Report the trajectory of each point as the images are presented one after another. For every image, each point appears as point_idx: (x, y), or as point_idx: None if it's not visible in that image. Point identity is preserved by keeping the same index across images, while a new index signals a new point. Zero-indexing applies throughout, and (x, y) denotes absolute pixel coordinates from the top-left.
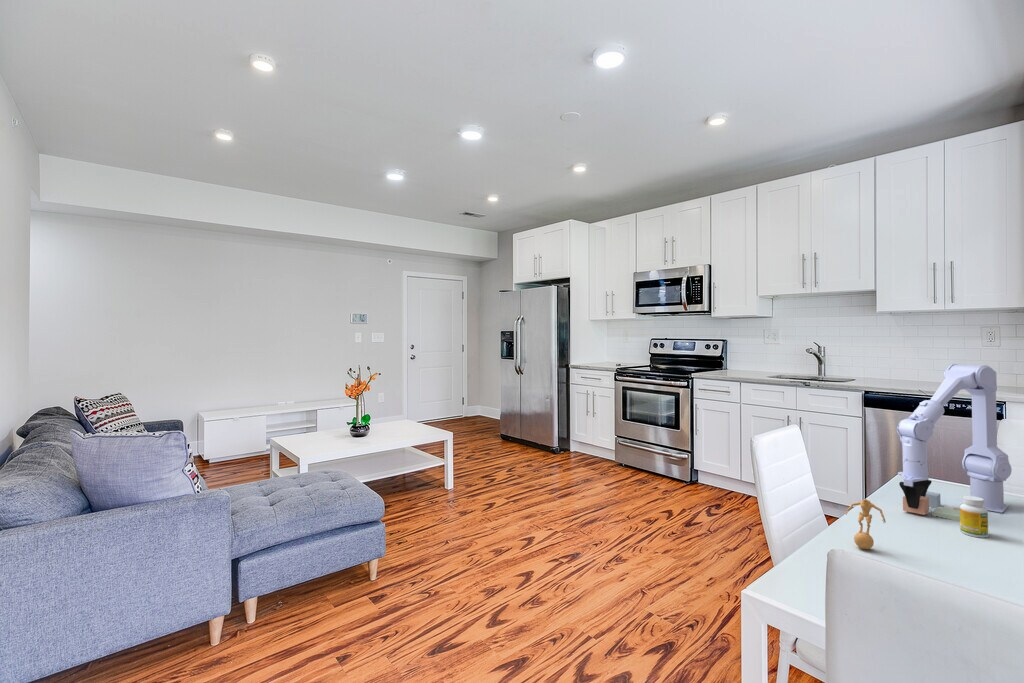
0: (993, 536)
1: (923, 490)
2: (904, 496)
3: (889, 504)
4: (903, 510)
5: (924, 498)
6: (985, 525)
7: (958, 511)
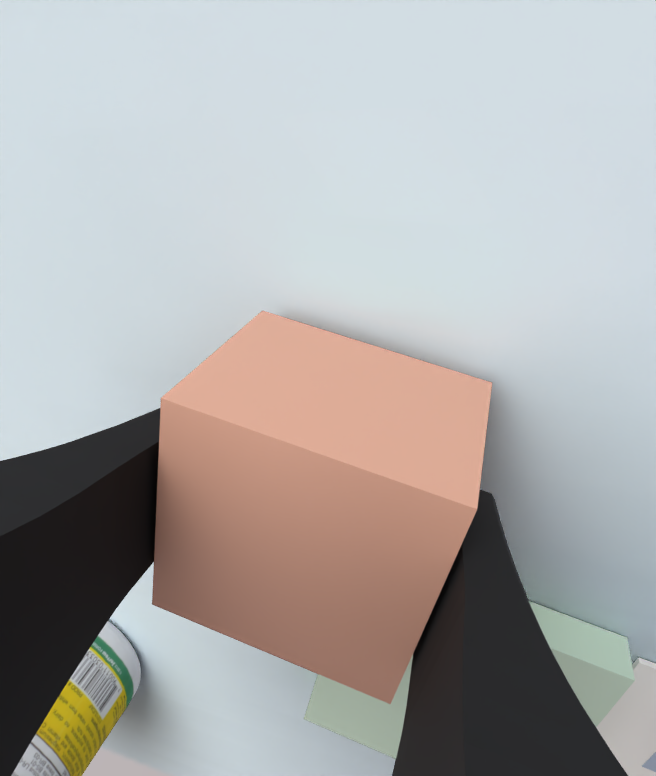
0: (128, 710)
1: (396, 771)
2: (217, 427)
3: (651, 128)
4: (258, 315)
5: (291, 643)
6: None
7: None
